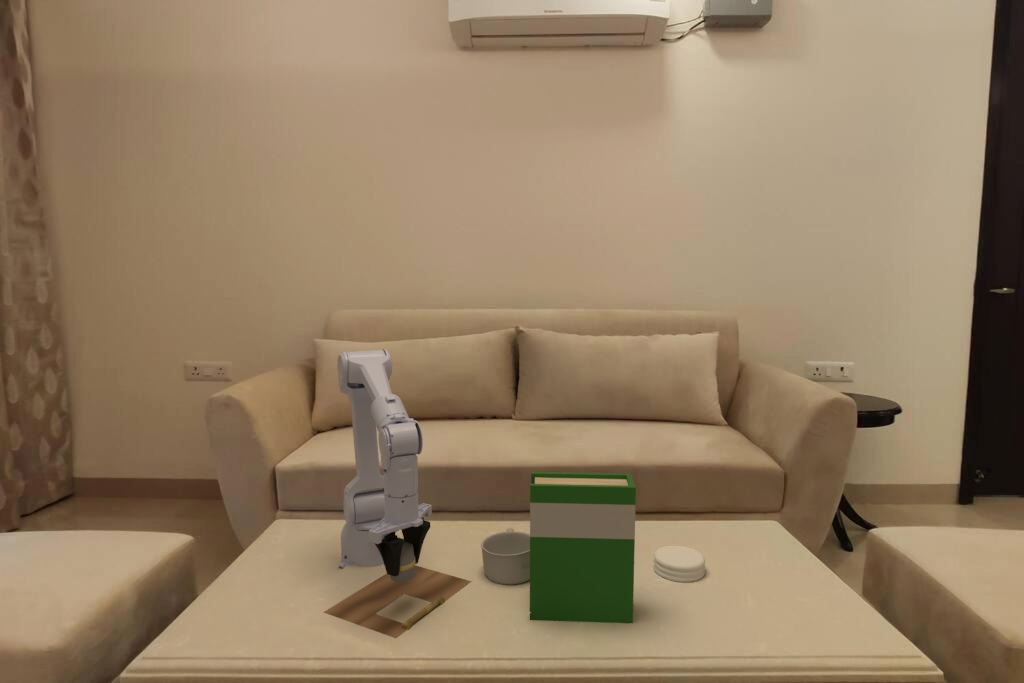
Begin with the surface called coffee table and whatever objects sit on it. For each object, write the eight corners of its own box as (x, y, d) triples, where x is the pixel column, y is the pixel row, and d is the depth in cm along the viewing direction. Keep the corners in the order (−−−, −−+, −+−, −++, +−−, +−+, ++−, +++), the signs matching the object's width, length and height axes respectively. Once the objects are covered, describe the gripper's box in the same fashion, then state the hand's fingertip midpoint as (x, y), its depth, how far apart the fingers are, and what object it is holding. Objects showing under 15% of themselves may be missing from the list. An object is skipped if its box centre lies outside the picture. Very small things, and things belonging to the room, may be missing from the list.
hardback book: (529, 620, 113) (530, 485, 110) (530, 598, 120) (531, 471, 118) (632, 623, 112) (635, 487, 109) (627, 601, 119) (630, 473, 117)
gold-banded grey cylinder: (403, 585, 111) (400, 558, 110) (383, 577, 113) (380, 551, 112) (422, 572, 114) (419, 545, 113) (402, 565, 117) (400, 539, 116)
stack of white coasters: (692, 588, 124) (693, 571, 124) (644, 573, 131) (645, 556, 130) (712, 569, 132) (712, 553, 132) (666, 556, 138) (666, 540, 138)
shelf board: (323, 620, 113) (323, 606, 112) (405, 569, 132) (404, 557, 131) (396, 647, 105) (396, 632, 105) (472, 588, 124) (471, 576, 124)
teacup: (532, 596, 121) (532, 555, 120) (475, 591, 123) (474, 550, 122) (543, 563, 135) (543, 526, 134) (492, 559, 137) (492, 522, 136)
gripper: (391, 510, 104) (393, 591, 105) (445, 484, 116) (446, 557, 118) (358, 502, 107) (360, 581, 109) (413, 477, 120) (414, 549, 121)
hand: (402, 568), depth 113 cm, fingers closed on gold-banded grey cylinder, 5 cm apart
